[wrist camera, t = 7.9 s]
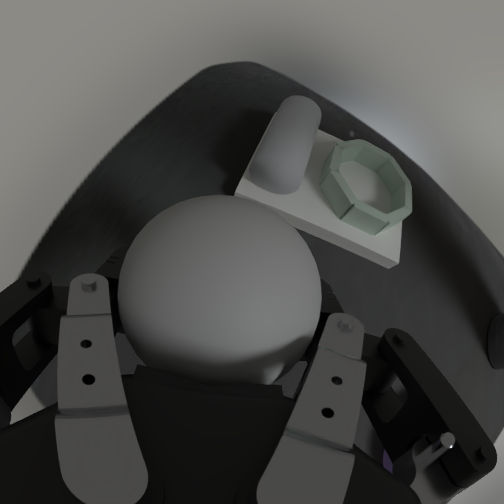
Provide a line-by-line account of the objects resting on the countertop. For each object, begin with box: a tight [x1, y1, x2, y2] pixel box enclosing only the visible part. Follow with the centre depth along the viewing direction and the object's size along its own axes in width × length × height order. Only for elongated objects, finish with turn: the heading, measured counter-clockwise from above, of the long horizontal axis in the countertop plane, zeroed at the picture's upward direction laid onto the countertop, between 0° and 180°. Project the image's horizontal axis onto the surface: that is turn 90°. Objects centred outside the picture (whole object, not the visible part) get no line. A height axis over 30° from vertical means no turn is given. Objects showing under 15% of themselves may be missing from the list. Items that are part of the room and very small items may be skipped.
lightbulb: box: [117, 195, 322, 385], centre depth 11 cm, size 6×6×11 cm
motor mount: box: [234, 96, 412, 269], centre depth 28 cm, size 19×14×7 cm
